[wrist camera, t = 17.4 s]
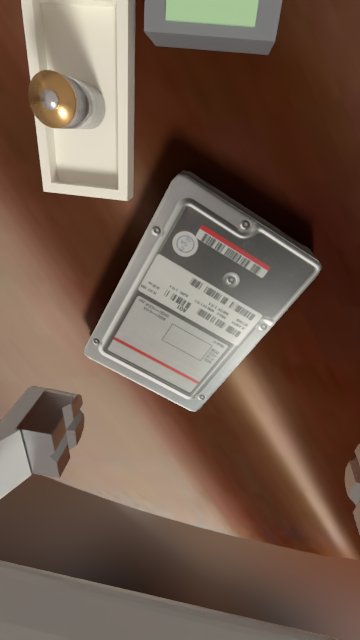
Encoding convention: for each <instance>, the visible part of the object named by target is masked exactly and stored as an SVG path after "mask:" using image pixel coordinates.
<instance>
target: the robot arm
mask: <svg viewBox="0 0 360 640" xmlns="http://www.w3.org/2000/svg"><path fill="white" fill-rule="evenodd" d="M82 404H83V403H82V397H81V395H79V394H74V393H69V392H64V391H59V390H54V389H49V388H48V389H47V388H42V387H37V386H32V387H30V388H28V389H27V390H26V391H25V393H24V394H23V395H22V396H21V397H20V399H19V400H18V401H17V402H16V403H15V405H14V406H13V407H12V408H11V409H10V411H9V412H8V413H7V414H6V415H5V417H4V418H3V419H2V420H1V421H0V499H1V498H2V497H4V496H5V495H6V494H7V493H9V492H10V491H11V490H12V489H14V488H15V487H16V486H18V485H19V484H20V483H21V482H23V481H24V480H25V479H27V478H28V477H29V476H30V475H31V473H34V474H40V475H46V476H51V477H57V478H60V476H61V474H62V472H63V470H64V469H65V467H66V465H67V463H68V461H69V459H70V454H69V450H70V449H72V448H73V447H75V446H76V445H77V444H78V442H79V440H80V438H81V435H82V431H83V428H84V414H83V413H82V412H81V411H80V408H81V406H82ZM355 454H356V456H357V458H355V459H353V460H351V461H349V463H348V465H347V468H346V471H345V486H346V490H347V494H348V497H349V498H350V499H351V500H352V501H353V502H354V503H355V504H356V507H355V509H354V511H353V514H354V517H355V521H356V524H357V527H358V531H359V534H360V444H359V445H358V446H357V448H356V450H355ZM0 640H341V639H337V638H332V637H328V636H324V635H320V634H315V633H311V632H306V631H303V630H298V629H294V628H289V627H285V626H281V625H276V624H272V623H268V622H263V621H259V620H255V619H251V618H246V617H242V616H238V615H233V614H229V613H225V612H221V611H216V610H212V609H208V608H203V607H199V606H195V605H190V604H186V603H182V602H177V601H173V600H168V599H164V598H160V597H156V596H151V595H147V594H143V593H138V592H134V591H130V590H125V589H121V588H117V587H112V586H108V585H104V584H100V583H95V582H91V581H87V580H82V579H78V578H73V577H69V576H64V575H60V574H56V573H52V572H48V571H43V570H39V569H35V568H30V567H26V566H22V565H17V564H13V563H9V562H4V561H0Z"/></svg>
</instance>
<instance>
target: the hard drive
mask: <svg viewBox="0 0 360 640" xmlns="http://www.w3.org/2000/svg"><path fill="white" fill-rule="evenodd" d="M321 268H322V266H321V264H320V263H319V261H318V260H317V258H316V257H315V255H314V254H313V253H312V251H311V250H310V249H309V248H307V247H306V246H304V245H303V244H301V243H300V242H298V241H297V240H295V239H294V238H292V237H290V236H289V235H287V234H286V233H284V232H283V231H281V230H280V229H278V228H277V227H275V226H274V225H272V224H270V223H269V222H267V221H266V220H264V219H263V218H261V217H260V216H258V215H257V214H255V213H254V212H252V211H250V210H249V209H247V208H246V207H244V206H243V205H241V204H240V203H238V202H237V201H235V200H234V199H232V198H230V197H229V196H227V195H226V194H224V193H223V192H221V191H220V190H218V189H217V188H215V187H214V186H212V185H211V184H209V183H207V182H206V181H204V180H203V179H201V178H200V177H198V176H197V175H195V174H194V173H192V172H191V171H185V170H183V171H181V172H180V173H179V174H178V175H177V176H176V177H175V178H174V179H173V180H172V181H171V183H170V185H169V187H168V189H167V191H166V193H165V195H164V197H163V199H162V201H161V203H160V204H159V206H158V208H157V210H156V212H155V214H154V216H153V218H152V220H151V222H150V224H149V226H148V228H147V229H146V231H145V233H144V235H143V237H142V239H141V241H140V243H139V245H138V247H137V249H136V251H135V253H134V254H133V256H132V258H131V260H130V262H129V264H128V266H127V268H126V270H125V272H124V274H123V276H122V278H121V280H120V281H119V283H118V285H117V287H116V289H115V291H114V293H113V295H112V297H111V299H110V301H109V303H108V305H107V306H106V308H105V310H104V312H103V314H102V316H101V318H100V320H99V322H98V324H97V326H96V328H95V330H94V331H93V333H92V335H91V337H90V339H89V341H88V343H87V345H86V347H85V351H84V354H85V355H86V356H87V357H88V358H90V359H92V360H94V361H96V362H98V363H99V364H101V365H103V366H105V367H107V368H109V369H111V370H113V371H115V372H117V373H119V374H121V375H122V376H124V377H126V378H128V379H130V380H132V381H134V382H136V383H138V384H140V385H142V386H144V387H145V388H147V389H149V390H151V391H153V392H155V393H157V394H159V395H161V396H163V397H165V398H167V399H168V400H170V401H172V402H174V403H176V404H178V405H180V406H182V407H184V408H186V409H188V410H190V411H197V410H198V409H200V408H201V407H202V405H203V404H204V403H205V402H206V401H207V400H208V399H209V397H210V396H211V395H212V394H213V393H214V392H215V391H216V390H217V388H218V387H219V386H220V385H221V384H222V383H223V382H224V380H225V379H226V378H227V377H228V376H229V375H230V374H231V373H232V371H233V370H234V369H235V368H236V367H237V366H238V365H239V364H240V362H241V361H242V360H243V359H244V358H245V357H246V356H247V354H248V353H249V352H250V351H251V350H252V349H253V348H254V347H255V345H256V344H257V343H258V342H259V341H260V340H261V339H262V337H263V336H264V335H265V334H266V333H267V332H268V331H269V330H270V328H271V327H272V326H273V325H274V324H275V323H276V322H277V321H278V319H279V318H280V317H281V316H282V315H283V314H284V313H285V311H286V310H287V309H288V308H289V307H290V306H291V305H292V304H293V302H294V301H295V300H296V299H297V298H298V297H299V296H300V294H301V293H302V292H303V291H304V290H305V289H306V288H307V287H308V285H309V284H310V283H311V282H312V281H313V280H314V279H315V278H316V276H317V275H318V274H319V272H320V270H321Z"/></svg>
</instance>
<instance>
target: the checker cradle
mask: <svg viewBox="0 0 360 640" xmlns="http://www.w3.org/2000/svg"><path fill="white" fill-rule="evenodd" d="M281 5H282V0H145V10H144V32H145V33H146V34H147V36H148V37H149V38H150V39H151V41H152V42H153V43H154V44H155V46H163V47H176V48H188V49H201V50H213V51H226V52H238V53H251V54H264V55H268V54H269V52H270V50H271V48H272V46H273V44H274V42H275V39H276V33H277V28H278V22H279V17H280V11H281Z"/></svg>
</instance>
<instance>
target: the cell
mask: <svg viewBox="0 0 360 640" xmlns="http://www.w3.org/2000/svg"><path fill="white" fill-rule="evenodd" d="M28 98H29V103H30V106H31V109H32V111H33V113H34V115H35V116H36V117H37V119H38V120H39V121H40V122H41V123H43V124H44V125H46V126H48V127H50V128H58V129H94V128H96V127H98V126H99V125H100V124H101V123H102V121H103V119H104V117H105V111H106V107H105V101H104V98H103V96H102V94H101V92H100V91H99V90H98V89H97V88H96V87H95V86H94V85H92V84H90V83H87V82H85V81H82V80H79V79H76V78H73V77H70V76H67V75H64V74H61V73H58V72H55V71H52V70H43V71H40V72H38V73H37V74H35V75H34V77H33V78H32V80H31V82H30V85H29V89H28Z"/></svg>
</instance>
